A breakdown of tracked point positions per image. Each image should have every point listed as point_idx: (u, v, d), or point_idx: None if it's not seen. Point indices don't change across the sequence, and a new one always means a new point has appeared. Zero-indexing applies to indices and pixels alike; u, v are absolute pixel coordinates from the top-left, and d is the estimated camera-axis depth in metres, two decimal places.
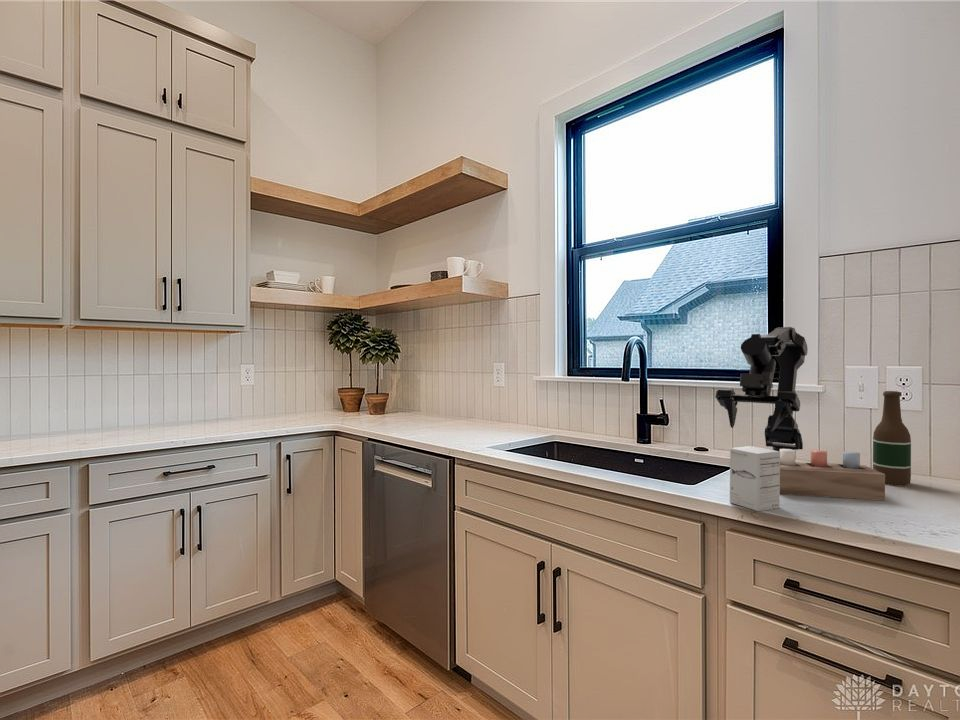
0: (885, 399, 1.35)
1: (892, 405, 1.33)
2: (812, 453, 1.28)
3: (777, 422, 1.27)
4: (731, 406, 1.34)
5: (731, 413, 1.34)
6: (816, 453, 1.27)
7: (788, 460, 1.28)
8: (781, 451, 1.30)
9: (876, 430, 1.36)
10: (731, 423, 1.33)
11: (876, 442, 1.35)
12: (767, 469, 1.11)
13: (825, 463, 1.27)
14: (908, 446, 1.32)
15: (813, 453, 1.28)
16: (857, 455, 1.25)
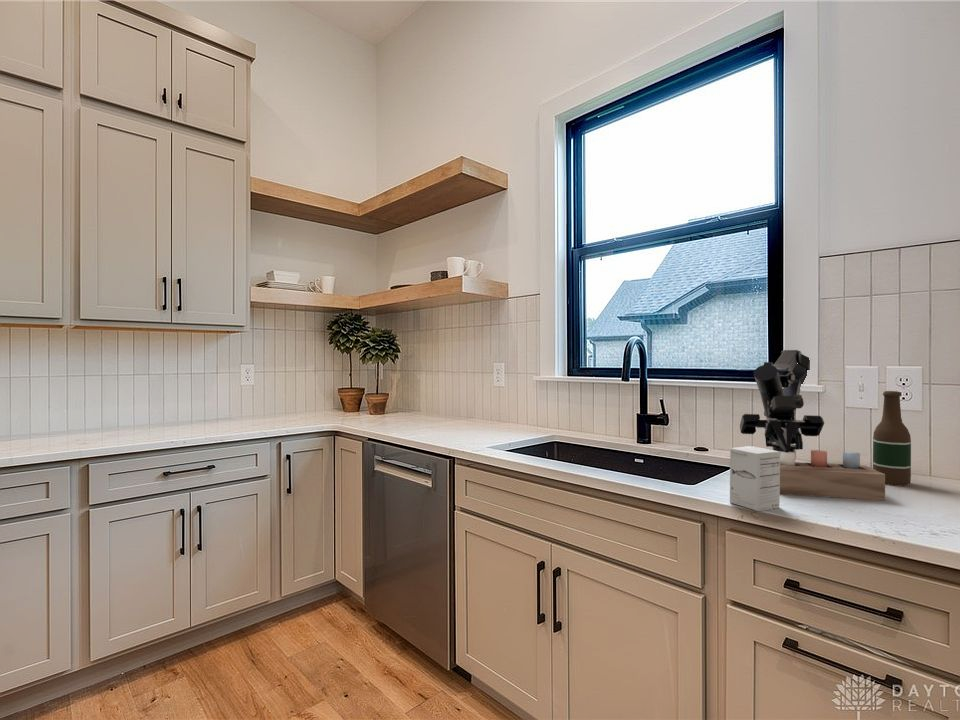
0: (885, 399, 1.35)
1: (892, 405, 1.33)
2: (812, 453, 1.28)
3: None
4: (781, 430, 1.33)
5: (783, 437, 1.32)
6: (816, 453, 1.27)
7: (788, 463, 1.28)
8: (781, 453, 1.30)
9: (876, 430, 1.36)
10: (786, 447, 1.30)
11: (876, 443, 1.35)
12: (767, 469, 1.11)
13: (825, 463, 1.27)
14: (908, 446, 1.32)
15: (813, 453, 1.28)
16: (857, 455, 1.25)
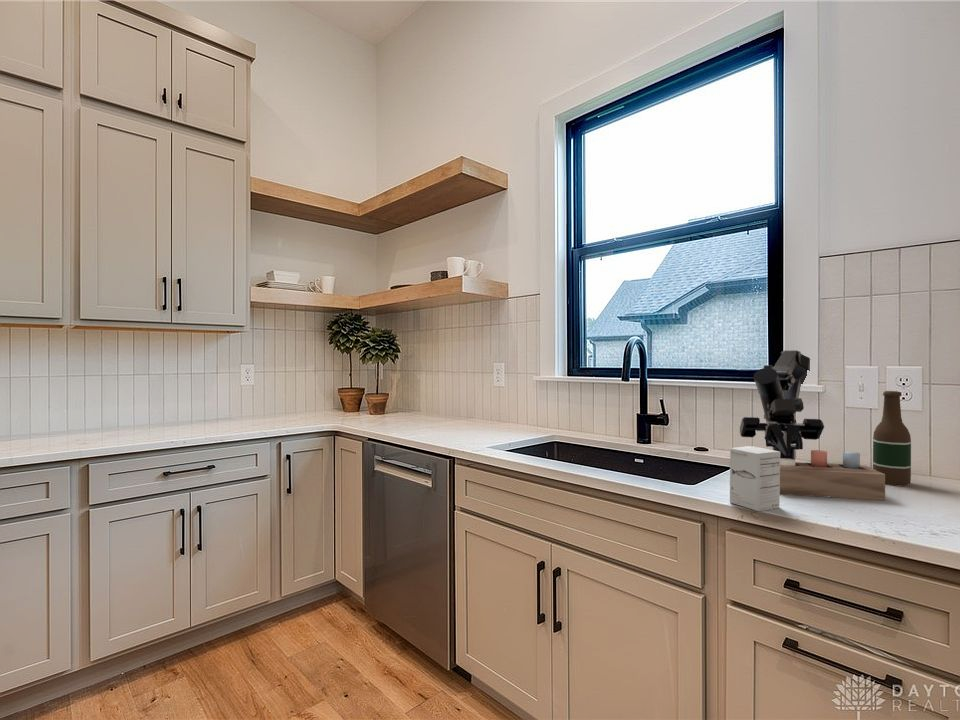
0: (885, 399, 1.35)
1: (892, 405, 1.33)
2: (812, 453, 1.28)
3: None
4: (781, 434, 1.33)
5: (783, 441, 1.32)
6: (816, 453, 1.27)
7: None
8: (781, 461, 1.30)
9: (876, 430, 1.36)
10: (786, 450, 1.30)
11: (876, 442, 1.35)
12: (767, 469, 1.11)
13: (825, 463, 1.27)
14: (908, 446, 1.32)
15: (813, 453, 1.28)
16: (857, 455, 1.25)
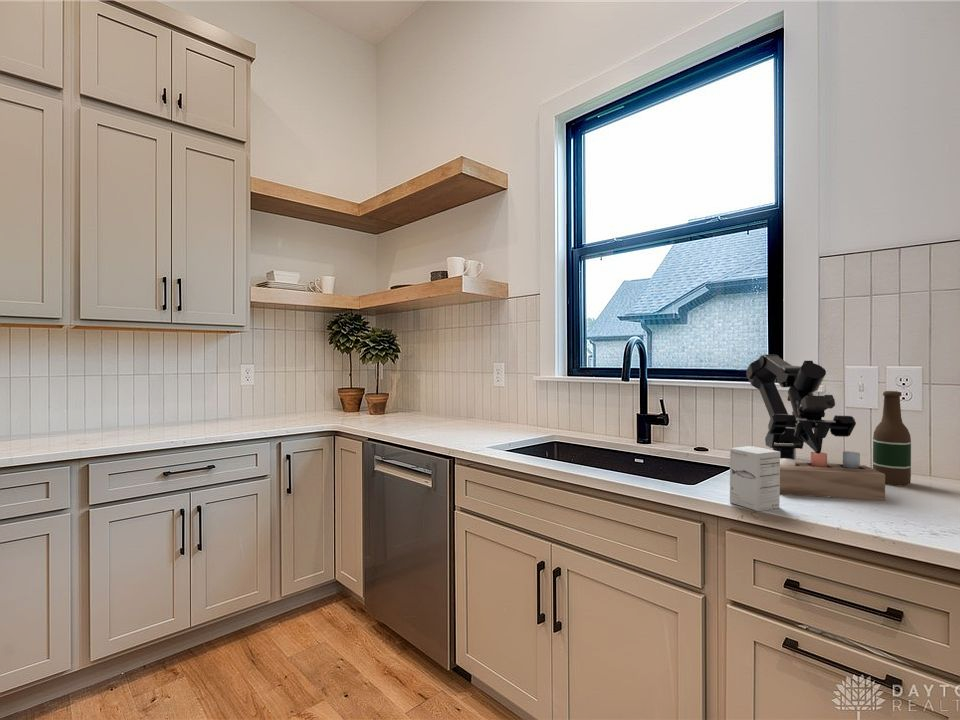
0: (885, 399, 1.35)
1: (892, 405, 1.33)
2: (812, 455, 1.28)
3: None
4: (811, 431, 1.31)
5: (814, 438, 1.30)
6: (816, 455, 1.27)
7: None
8: (781, 461, 1.30)
9: (876, 430, 1.36)
10: (817, 447, 1.28)
11: (876, 442, 1.35)
12: (767, 469, 1.11)
13: (825, 465, 1.27)
14: (908, 446, 1.32)
15: (813, 455, 1.28)
16: (857, 455, 1.25)
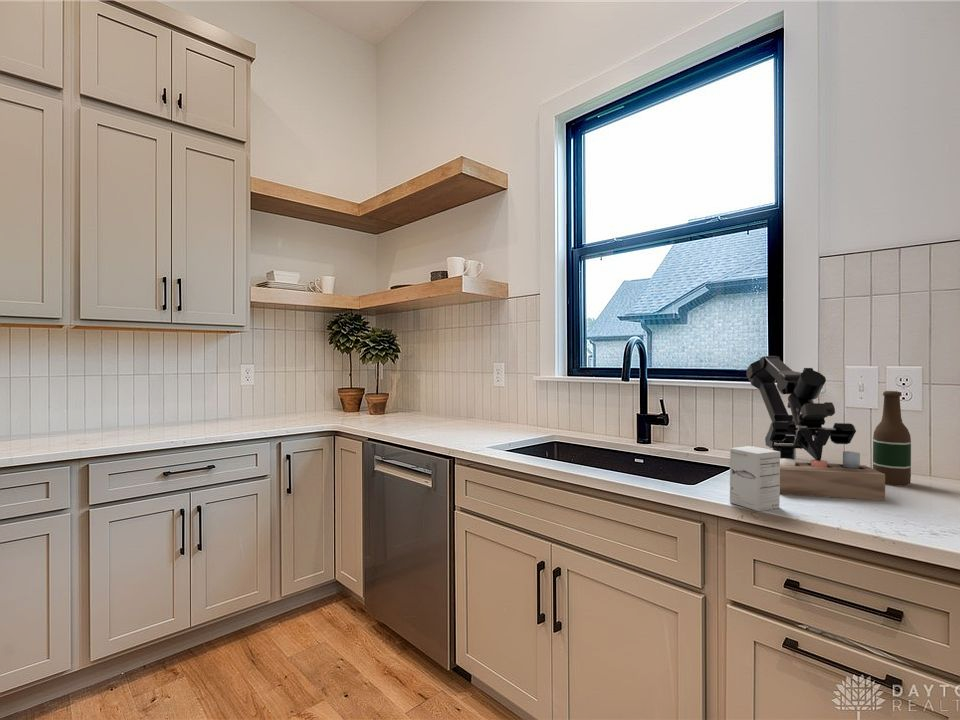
0: (885, 399, 1.35)
1: (892, 405, 1.33)
2: (812, 463, 1.28)
3: None
4: (811, 438, 1.31)
5: (814, 445, 1.30)
6: (816, 463, 1.27)
7: None
8: (781, 461, 1.30)
9: (876, 430, 1.36)
10: (817, 455, 1.28)
11: (876, 442, 1.35)
12: (767, 469, 1.11)
13: None
14: (908, 446, 1.32)
15: (813, 463, 1.28)
16: (857, 455, 1.25)
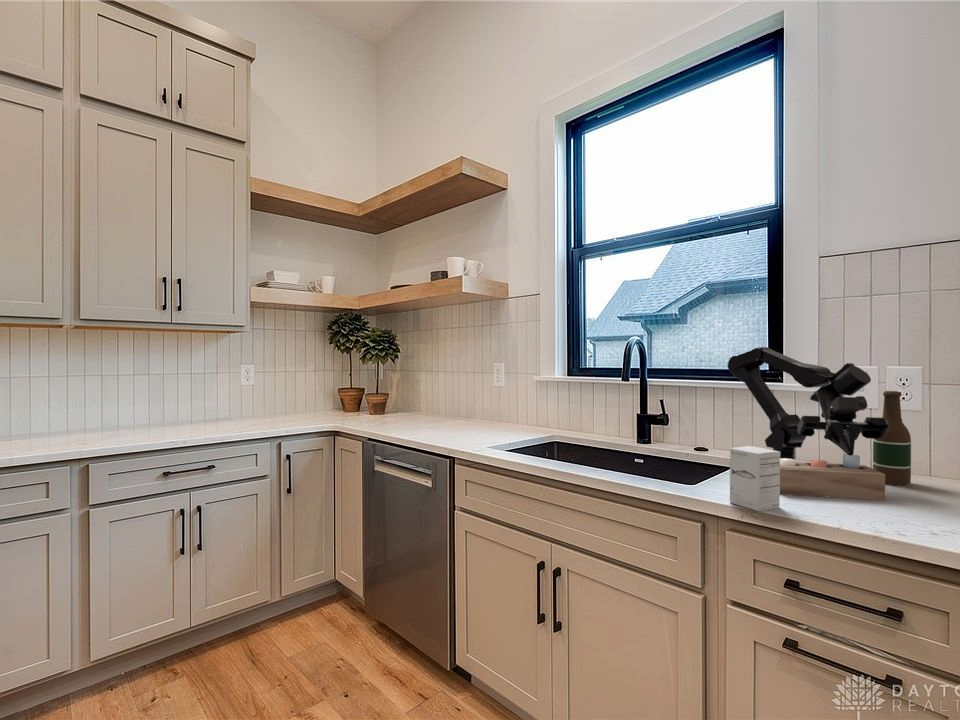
0: (885, 399, 1.35)
1: (892, 405, 1.33)
2: (812, 463, 1.28)
3: None
4: (843, 433, 1.29)
5: (846, 440, 1.28)
6: (816, 463, 1.27)
7: None
8: (781, 461, 1.30)
9: None
10: (850, 450, 1.27)
11: (876, 442, 1.35)
12: (767, 469, 1.11)
13: None
14: (908, 446, 1.32)
15: (813, 463, 1.28)
16: (857, 458, 1.25)
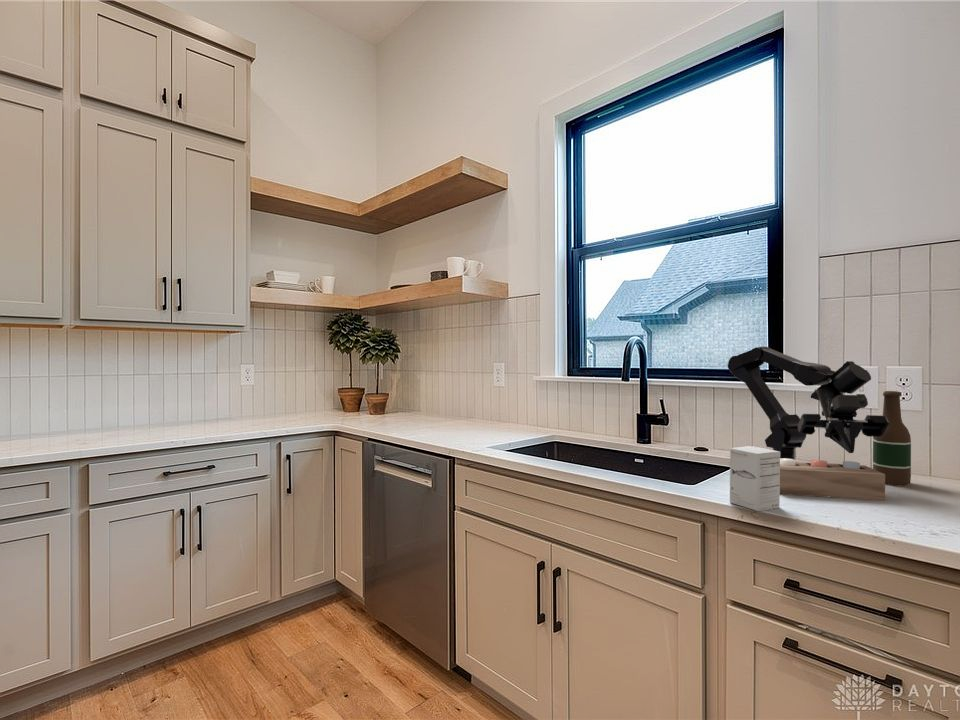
0: (885, 399, 1.35)
1: (892, 405, 1.33)
2: (812, 463, 1.28)
3: None
4: (843, 431, 1.29)
5: (846, 438, 1.28)
6: (816, 463, 1.27)
7: None
8: (781, 461, 1.30)
9: None
10: (850, 448, 1.26)
11: (876, 443, 1.35)
12: (767, 469, 1.11)
13: None
14: (908, 446, 1.32)
15: (813, 463, 1.28)
16: (857, 465, 1.25)
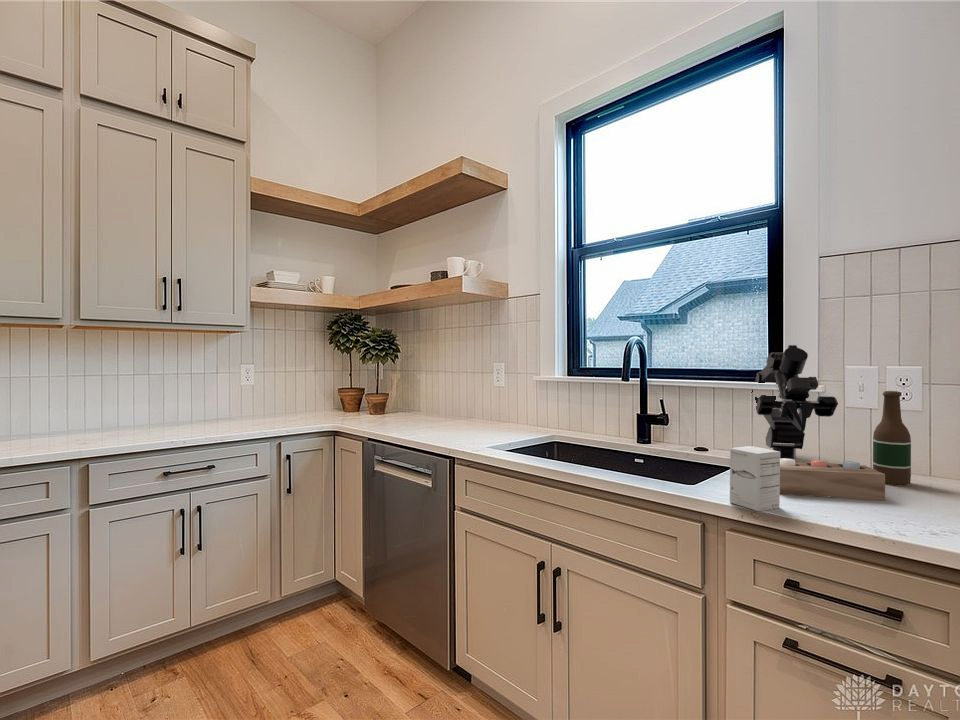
0: (885, 399, 1.35)
1: (892, 405, 1.33)
2: (812, 463, 1.28)
3: None
4: (796, 411, 1.39)
5: (798, 417, 1.38)
6: (816, 463, 1.27)
7: None
8: (781, 461, 1.30)
9: (876, 430, 1.36)
10: (801, 426, 1.37)
11: (876, 443, 1.35)
12: (767, 469, 1.11)
13: None
14: (908, 446, 1.32)
15: (813, 463, 1.28)
16: (857, 465, 1.25)
